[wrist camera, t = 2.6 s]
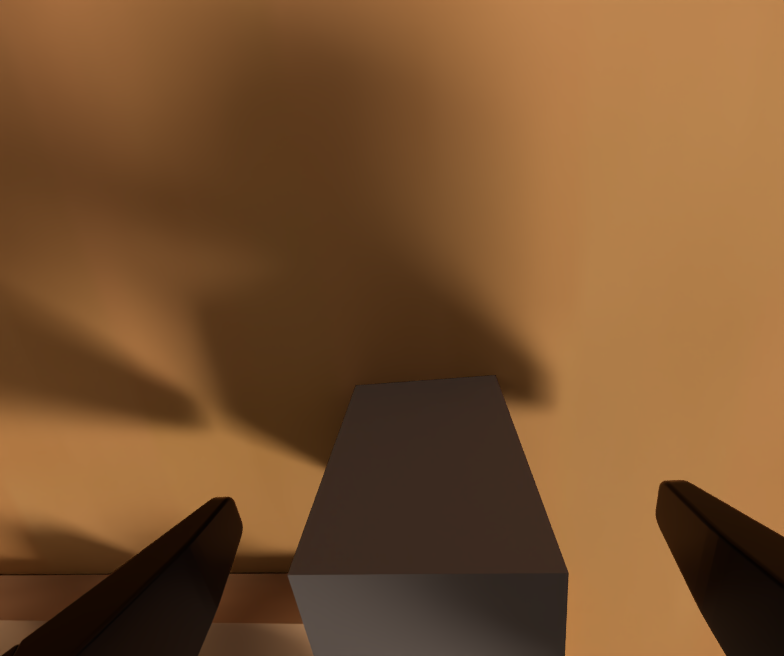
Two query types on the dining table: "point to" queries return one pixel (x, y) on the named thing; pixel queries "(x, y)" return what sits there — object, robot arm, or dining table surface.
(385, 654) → the dark grey block
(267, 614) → the board with round knob
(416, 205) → the dining table surface
